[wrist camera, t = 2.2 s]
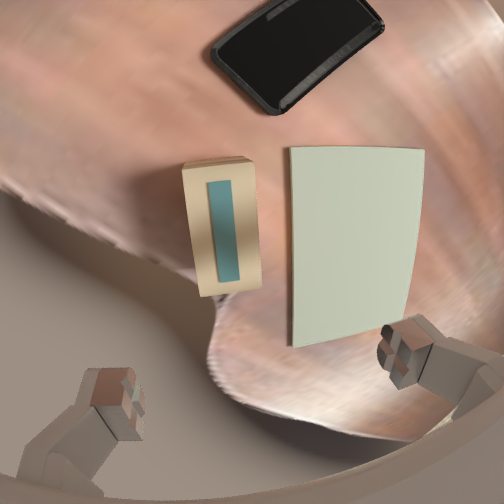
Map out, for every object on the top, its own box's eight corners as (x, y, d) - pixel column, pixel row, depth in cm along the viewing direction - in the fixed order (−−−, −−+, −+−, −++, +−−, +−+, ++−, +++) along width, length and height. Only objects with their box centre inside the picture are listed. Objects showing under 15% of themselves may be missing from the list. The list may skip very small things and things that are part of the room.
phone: (389, 28, 19) (276, 121, 21) (382, 30, 20) (272, 121, 22) (331, -34, 16) (203, 51, 18) (326, -29, 17) (203, 55, 19)
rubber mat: (289, 147, 23) (291, 147, 22) (421, 149, 25) (424, 149, 24) (291, 345, 31) (293, 348, 30) (399, 318, 33) (401, 321, 32)
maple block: (185, 162, 22) (181, 170, 17) (242, 155, 23) (254, 162, 18) (199, 267, 26) (200, 298, 21) (250, 260, 26) (262, 289, 22)
